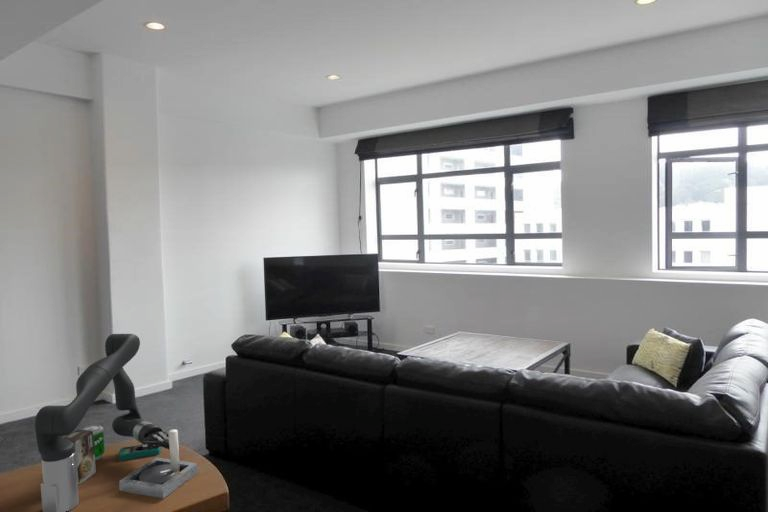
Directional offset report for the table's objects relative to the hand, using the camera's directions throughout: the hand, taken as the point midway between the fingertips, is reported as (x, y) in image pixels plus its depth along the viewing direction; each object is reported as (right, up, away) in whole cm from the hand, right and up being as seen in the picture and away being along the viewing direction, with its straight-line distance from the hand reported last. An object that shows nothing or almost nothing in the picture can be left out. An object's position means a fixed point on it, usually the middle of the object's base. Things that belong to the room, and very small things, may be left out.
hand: (171, 446), depth 191 cm
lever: (-3, -11, -3) cm, 12 cm away
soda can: (-36, -10, +16) cm, 41 cm away
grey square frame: (-3, -11, -3) cm, 12 cm away
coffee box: (-33, -12, 0) cm, 35 cm away
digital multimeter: (-20, -10, +19) cm, 29 cm away
